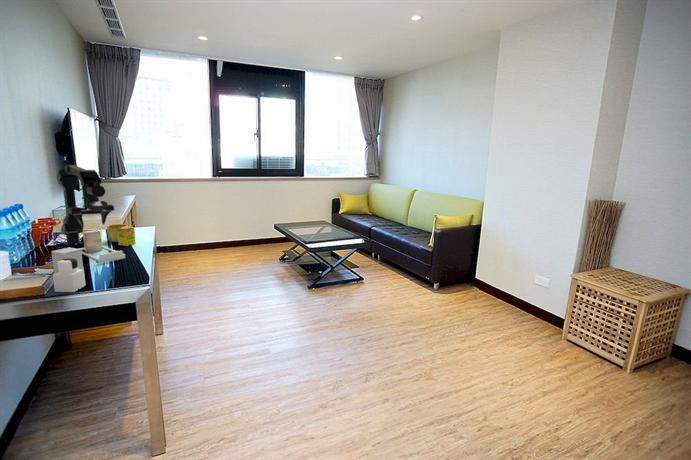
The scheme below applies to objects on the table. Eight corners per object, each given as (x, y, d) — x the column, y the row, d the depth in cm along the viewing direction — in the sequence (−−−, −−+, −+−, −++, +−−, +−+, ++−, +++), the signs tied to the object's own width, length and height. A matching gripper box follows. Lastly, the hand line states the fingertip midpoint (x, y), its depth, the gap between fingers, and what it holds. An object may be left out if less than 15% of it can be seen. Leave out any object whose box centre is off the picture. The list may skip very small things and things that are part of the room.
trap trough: (75, 252, 181) (74, 245, 181) (101, 248, 191) (100, 241, 190) (98, 263, 168) (97, 255, 167) (125, 258, 178) (124, 250, 177)
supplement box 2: (127, 248, 194) (126, 229, 192) (118, 247, 195) (116, 228, 193) (136, 245, 200) (134, 226, 198) (127, 244, 201) (125, 225, 199)
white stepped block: (67, 285, 141) (63, 256, 139) (86, 285, 142) (82, 257, 139) (54, 292, 134) (50, 262, 132) (74, 292, 135) (70, 262, 132)
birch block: (84, 250, 182) (82, 231, 180) (97, 248, 187) (96, 230, 185) (89, 252, 179) (87, 233, 177) (102, 250, 184) (100, 231, 182)
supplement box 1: (85, 277, 150) (82, 249, 147) (66, 283, 143) (63, 253, 140) (73, 274, 152) (69, 246, 150) (54, 280, 145) (50, 251, 143)
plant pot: (133, 241, 209) (132, 224, 207) (119, 245, 199) (118, 228, 197) (118, 239, 211) (116, 223, 209) (103, 243, 201) (102, 226, 199)
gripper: (74, 198, 163) (78, 230, 167) (118, 195, 179) (120, 225, 182) (64, 195, 169) (68, 227, 173) (107, 193, 185) (110, 222, 188)
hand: (93, 225), depth 179 cm, fingers open, 9 cm apart
